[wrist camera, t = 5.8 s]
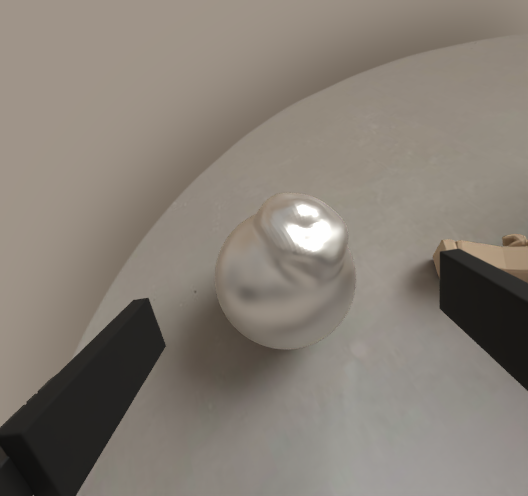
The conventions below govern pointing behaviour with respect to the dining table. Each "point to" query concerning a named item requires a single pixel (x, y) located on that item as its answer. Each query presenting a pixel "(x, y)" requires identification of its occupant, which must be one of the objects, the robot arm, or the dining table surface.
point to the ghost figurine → (287, 273)
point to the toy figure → (494, 254)
